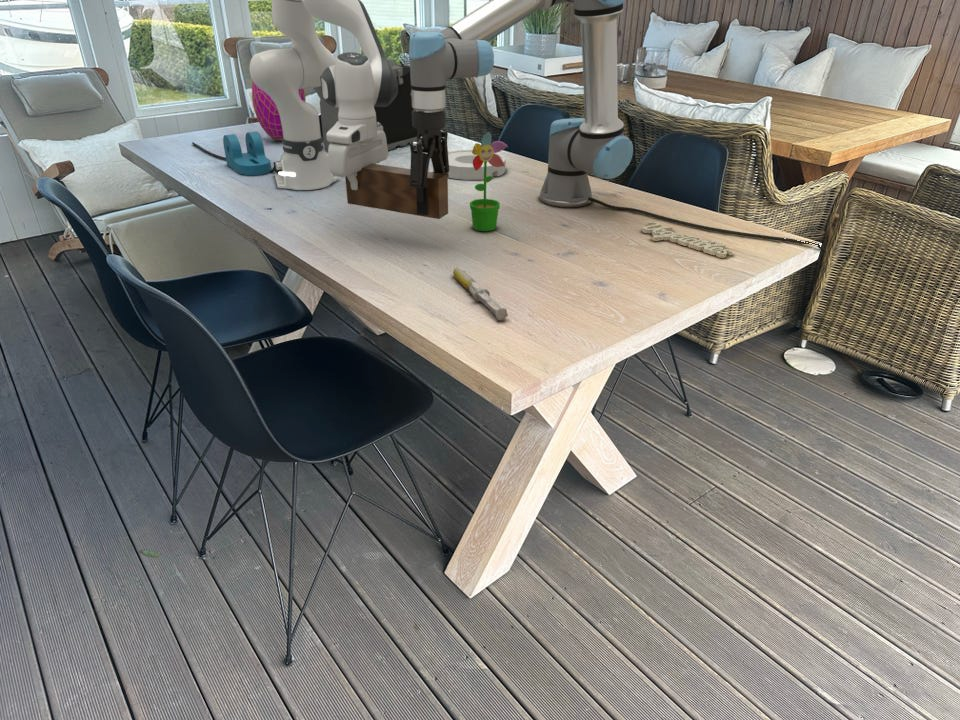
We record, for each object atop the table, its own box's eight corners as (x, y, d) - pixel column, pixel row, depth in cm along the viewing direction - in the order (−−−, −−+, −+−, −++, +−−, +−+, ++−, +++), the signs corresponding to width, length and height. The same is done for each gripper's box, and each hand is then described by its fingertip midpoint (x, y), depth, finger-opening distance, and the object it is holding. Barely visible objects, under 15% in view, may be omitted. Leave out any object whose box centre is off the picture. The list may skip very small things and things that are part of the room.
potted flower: (476, 234, 177) (477, 135, 164) (462, 225, 183) (462, 128, 170) (508, 229, 181) (511, 131, 168) (493, 220, 187) (496, 125, 174)
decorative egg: (293, 132, 276) (283, 50, 261) (319, 140, 264) (310, 56, 249) (249, 139, 265) (236, 54, 250) (273, 148, 253) (261, 60, 238)
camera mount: (227, 164, 233) (221, 132, 227) (257, 160, 238) (252, 129, 233) (244, 176, 220) (239, 143, 215) (276, 172, 225) (271, 139, 220)
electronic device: (383, 133, 276) (378, 52, 261) (425, 141, 265) (422, 56, 250) (314, 150, 251) (304, 61, 235) (358, 160, 240) (350, 67, 224)
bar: (448, 213, 166) (447, 174, 161) (439, 219, 162) (438, 179, 157) (357, 198, 175) (354, 160, 170) (347, 203, 171) (343, 165, 167)
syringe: (449, 274, 155) (449, 263, 153) (465, 272, 156) (464, 260, 154) (490, 323, 135) (491, 310, 133) (508, 319, 136) (508, 307, 134)
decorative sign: (628, 228, 179) (651, 220, 185) (628, 232, 180) (651, 224, 186) (717, 257, 162) (740, 248, 168) (716, 261, 163) (739, 251, 169)
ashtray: (439, 160, 240) (438, 148, 238) (505, 161, 240) (505, 150, 238) (433, 179, 220) (432, 166, 218) (505, 180, 220) (505, 168, 218)
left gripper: (370, 119, 172) (374, 174, 179) (321, 135, 156) (327, 195, 163) (392, 121, 170) (395, 177, 177) (344, 138, 154) (349, 199, 161)
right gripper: (435, 100, 162) (437, 195, 174) (390, 115, 146) (395, 219, 158) (463, 103, 159) (463, 199, 171) (420, 119, 143) (424, 224, 155)
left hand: (362, 186), depth 170 cm, fingers closed on bar, 4 cm apart
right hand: (431, 209), depth 164 cm, fingers open, 7 cm apart
